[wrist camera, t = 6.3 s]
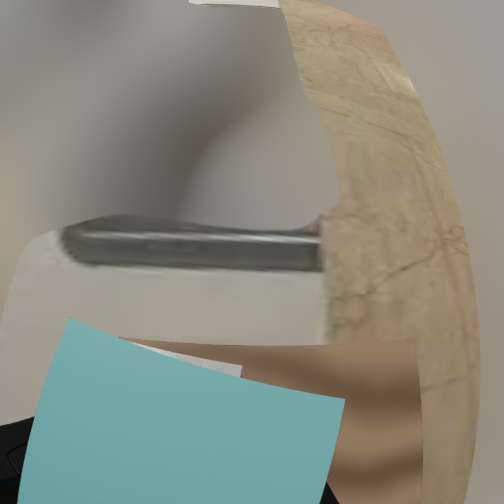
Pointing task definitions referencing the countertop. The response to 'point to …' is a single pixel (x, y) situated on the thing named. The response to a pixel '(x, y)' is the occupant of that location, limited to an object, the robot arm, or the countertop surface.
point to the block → (170, 432)
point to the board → (347, 407)
